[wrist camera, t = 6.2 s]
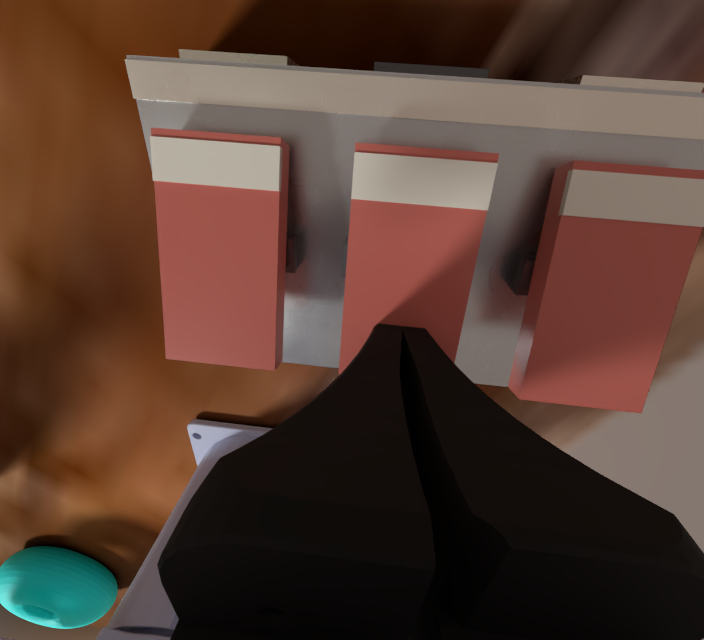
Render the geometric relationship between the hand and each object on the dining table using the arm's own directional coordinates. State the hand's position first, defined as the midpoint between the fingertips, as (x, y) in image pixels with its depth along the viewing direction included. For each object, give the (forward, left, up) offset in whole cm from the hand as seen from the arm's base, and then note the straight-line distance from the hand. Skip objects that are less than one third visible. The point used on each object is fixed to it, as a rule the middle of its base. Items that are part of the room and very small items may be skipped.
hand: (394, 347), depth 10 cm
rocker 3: (+2, -5, 0) cm, 6 cm away
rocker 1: (+2, +5, 0) cm, 6 cm away
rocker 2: (+2, 0, 0) cm, 2 cm away
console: (+2, 0, -4) cm, 5 cm away
